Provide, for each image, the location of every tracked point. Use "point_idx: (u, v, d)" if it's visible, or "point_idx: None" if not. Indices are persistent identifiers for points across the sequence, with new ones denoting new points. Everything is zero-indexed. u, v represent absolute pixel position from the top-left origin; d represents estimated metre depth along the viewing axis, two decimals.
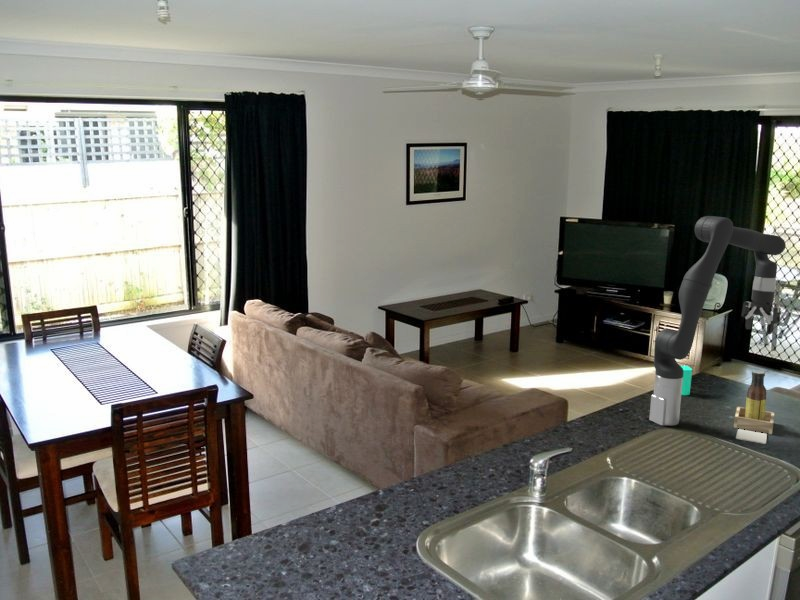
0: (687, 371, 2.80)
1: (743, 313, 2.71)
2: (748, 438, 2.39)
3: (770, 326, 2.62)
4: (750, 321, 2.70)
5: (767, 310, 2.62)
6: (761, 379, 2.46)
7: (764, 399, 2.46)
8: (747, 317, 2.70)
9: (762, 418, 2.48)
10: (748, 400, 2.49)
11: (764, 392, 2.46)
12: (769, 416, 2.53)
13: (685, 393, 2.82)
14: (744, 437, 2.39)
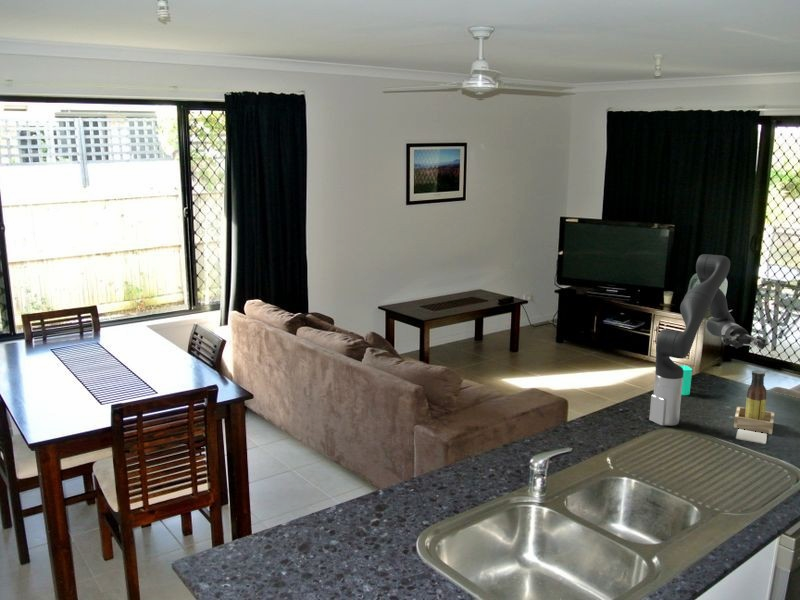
0: (687, 371, 2.80)
1: (727, 337, 2.63)
2: (748, 438, 2.39)
3: (761, 342, 2.59)
4: None
5: None
6: (761, 379, 2.46)
7: (764, 399, 2.46)
8: (733, 339, 2.61)
9: (762, 418, 2.48)
10: (748, 400, 2.49)
11: (764, 392, 2.46)
12: (769, 416, 2.53)
13: (685, 393, 2.82)
14: (744, 437, 2.39)
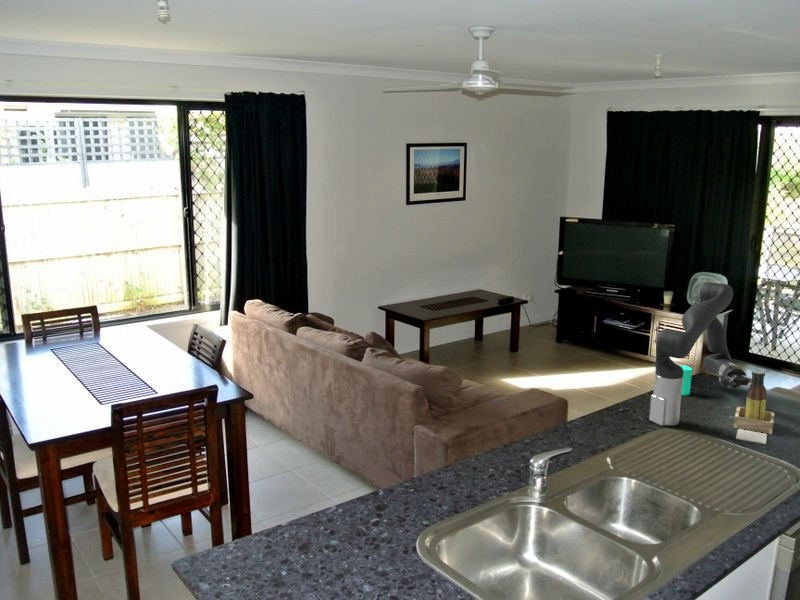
0: (687, 371, 2.80)
1: (724, 379, 2.63)
2: (748, 438, 2.39)
3: None
4: None
5: (748, 378, 2.65)
6: (761, 379, 2.46)
7: (764, 399, 2.46)
8: (731, 380, 2.62)
9: (762, 418, 2.48)
10: (748, 400, 2.49)
11: (764, 392, 2.46)
12: (769, 416, 2.53)
13: (685, 393, 2.82)
14: (744, 437, 2.39)
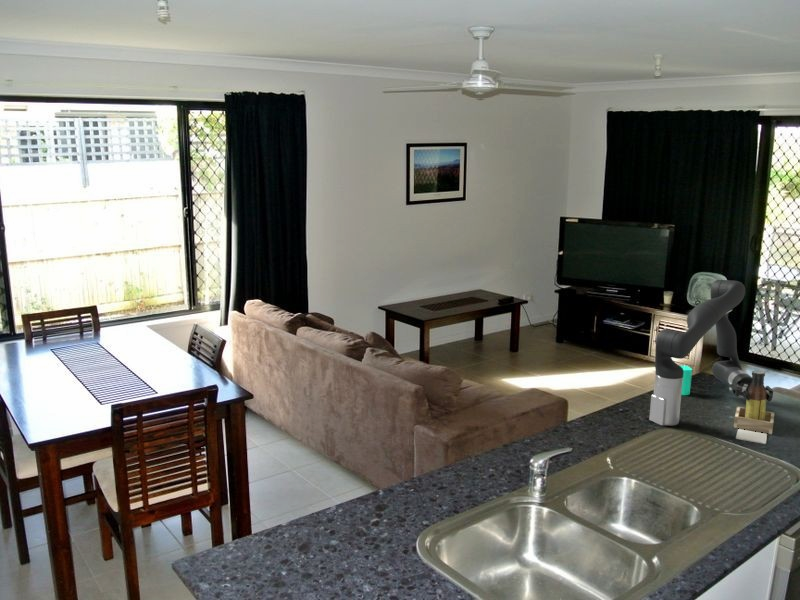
0: (687, 371, 2.80)
1: (737, 388, 2.53)
2: (748, 438, 2.39)
3: (769, 394, 2.49)
4: None
5: None
6: (761, 379, 2.46)
7: (764, 399, 2.46)
8: (744, 390, 2.51)
9: (762, 418, 2.48)
10: (748, 400, 2.49)
11: (764, 392, 2.46)
12: (769, 416, 2.53)
13: (685, 393, 2.82)
14: (744, 437, 2.39)
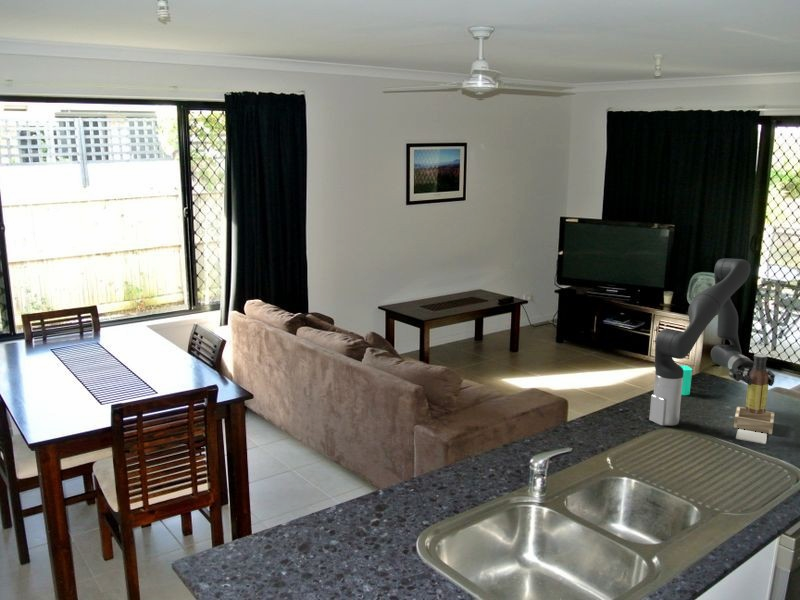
0: (687, 371, 2.80)
1: (738, 373, 2.41)
2: (748, 438, 2.39)
3: (770, 378, 2.38)
4: None
5: None
6: (763, 363, 2.35)
7: (766, 384, 2.35)
8: (745, 374, 2.40)
9: (764, 404, 2.37)
10: (749, 385, 2.38)
11: (766, 376, 2.35)
12: (769, 416, 2.53)
13: (685, 393, 2.82)
14: (744, 437, 2.39)
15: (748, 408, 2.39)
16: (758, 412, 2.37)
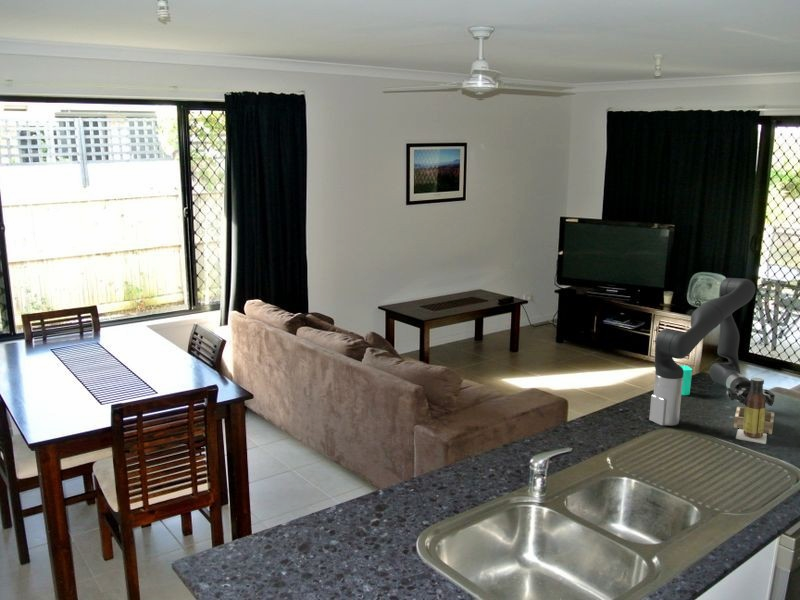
0: (687, 371, 2.80)
1: (732, 392, 2.42)
2: (748, 438, 2.39)
3: (770, 398, 2.39)
4: None
5: None
6: (760, 387, 2.36)
7: (763, 408, 2.37)
8: (739, 393, 2.41)
9: (761, 428, 2.38)
10: (746, 409, 2.39)
11: (763, 400, 2.36)
12: (769, 416, 2.53)
13: (685, 393, 2.82)
14: (744, 437, 2.39)
15: (745, 432, 2.40)
16: (755, 436, 2.38)
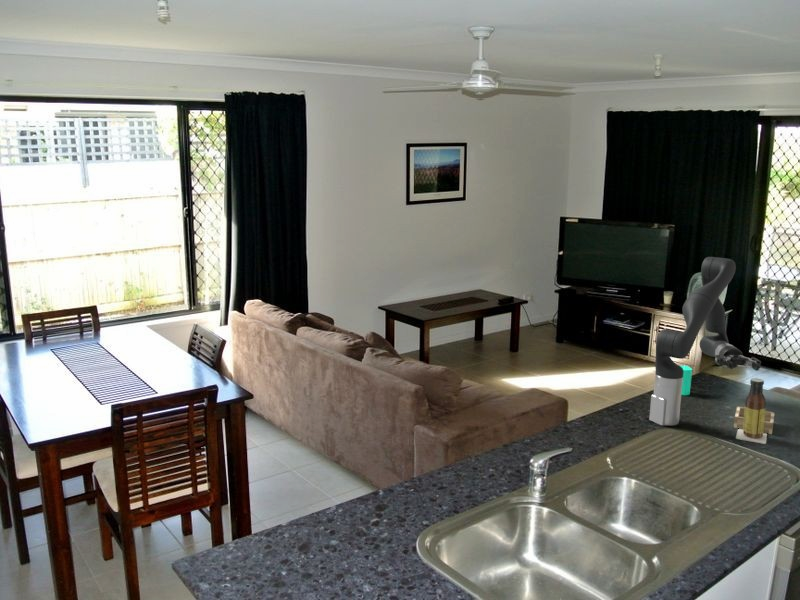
0: (687, 371, 2.80)
1: (721, 358, 2.54)
2: (748, 438, 2.39)
3: (756, 363, 2.51)
4: None
5: None
6: (760, 387, 2.36)
7: (763, 408, 2.36)
8: (727, 359, 2.53)
9: (761, 428, 2.37)
10: (746, 409, 2.38)
11: (763, 401, 2.36)
12: (769, 416, 2.53)
13: (685, 393, 2.82)
14: (744, 437, 2.39)
15: (745, 432, 2.40)
16: (755, 436, 2.38)
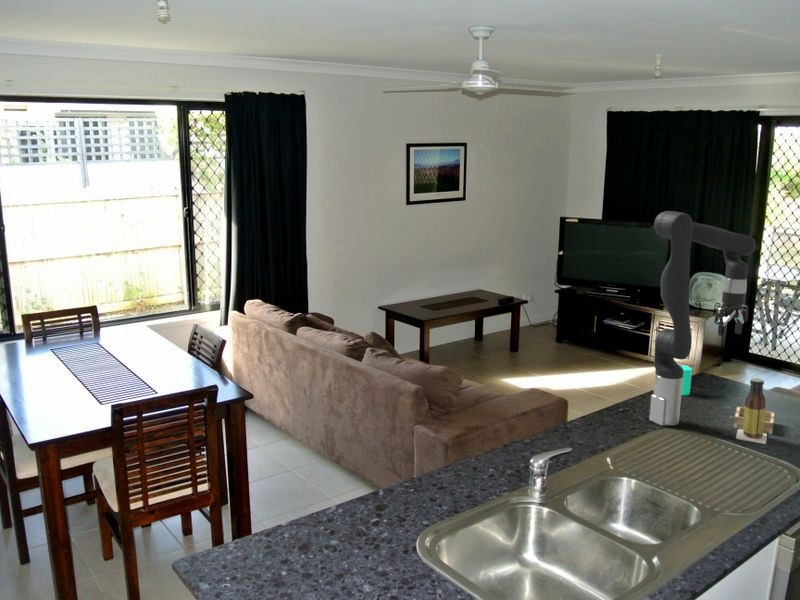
0: (687, 371, 2.80)
1: (721, 321, 2.51)
2: (748, 438, 2.39)
3: (741, 325, 2.57)
4: None
5: (740, 310, 2.55)
6: (760, 387, 2.36)
7: (763, 408, 2.36)
8: (725, 324, 2.52)
9: (761, 428, 2.37)
10: (746, 409, 2.38)
11: (763, 401, 2.36)
12: (769, 416, 2.53)
13: (685, 393, 2.82)
14: (744, 437, 2.39)
15: (745, 432, 2.40)
16: (755, 436, 2.38)
